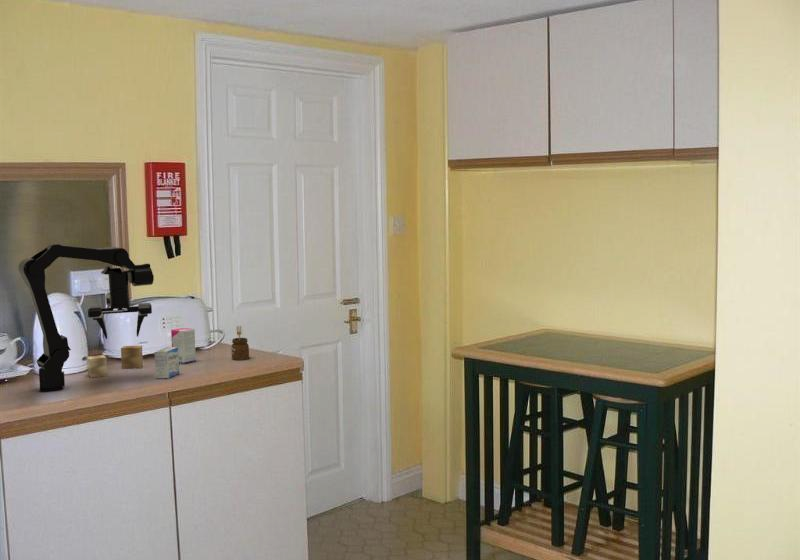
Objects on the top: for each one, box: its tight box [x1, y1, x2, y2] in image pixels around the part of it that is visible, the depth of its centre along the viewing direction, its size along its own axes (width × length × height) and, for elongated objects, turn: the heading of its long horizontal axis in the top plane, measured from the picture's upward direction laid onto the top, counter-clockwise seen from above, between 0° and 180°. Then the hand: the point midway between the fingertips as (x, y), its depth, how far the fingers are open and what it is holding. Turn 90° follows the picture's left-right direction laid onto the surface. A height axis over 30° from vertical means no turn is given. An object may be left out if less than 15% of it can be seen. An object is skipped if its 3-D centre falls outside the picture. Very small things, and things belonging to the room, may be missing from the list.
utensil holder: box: [231, 325, 250, 361], centre depth 300 cm, size 6×6×12 cm
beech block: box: [86, 354, 108, 379], centre depth 277 cm, size 5×5×6 cm
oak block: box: [120, 345, 144, 370], centre depth 289 cm, size 6×4×7 cm, turn 94°
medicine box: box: [154, 346, 180, 379], centre depth 274 cm, size 8×4×9 cm, turn 168°
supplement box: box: [170, 327, 197, 365], centre depth 296 cm, size 6×6×12 cm
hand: (122, 337), depth 270 cm, fingers open, 9 cm apart
